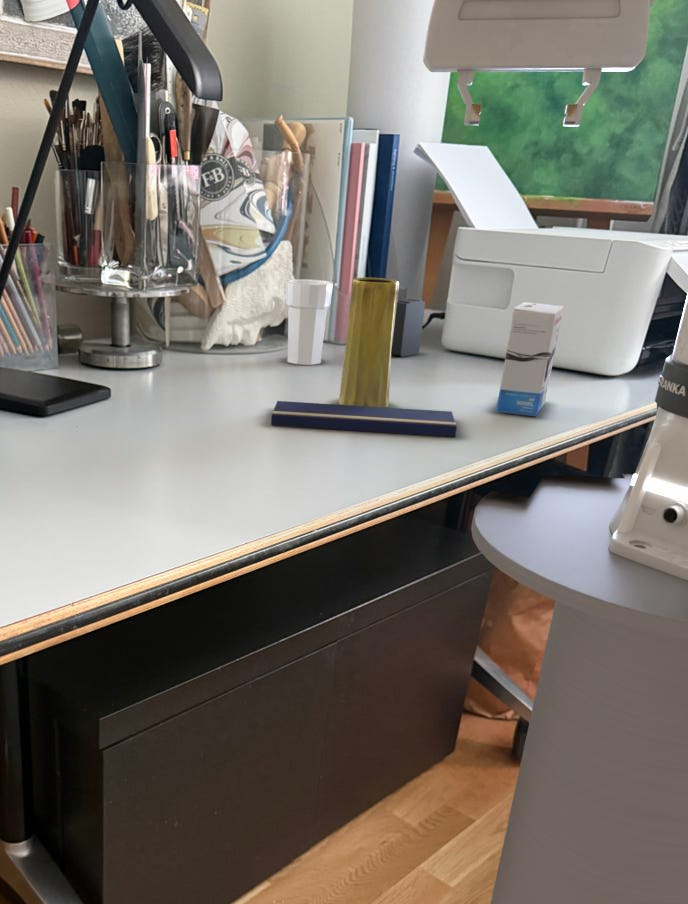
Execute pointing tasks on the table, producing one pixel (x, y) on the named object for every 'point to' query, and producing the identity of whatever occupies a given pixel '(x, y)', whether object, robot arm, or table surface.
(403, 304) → the ink cartridge
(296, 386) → the table surface
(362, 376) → the vase
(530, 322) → the ink box
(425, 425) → the navy blue flat box
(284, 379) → the table surface
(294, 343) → the cup
